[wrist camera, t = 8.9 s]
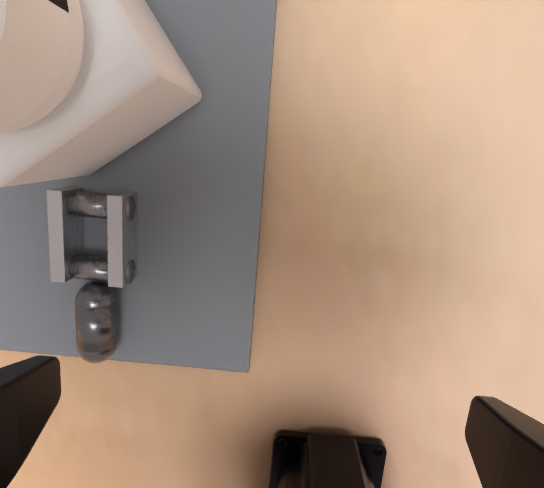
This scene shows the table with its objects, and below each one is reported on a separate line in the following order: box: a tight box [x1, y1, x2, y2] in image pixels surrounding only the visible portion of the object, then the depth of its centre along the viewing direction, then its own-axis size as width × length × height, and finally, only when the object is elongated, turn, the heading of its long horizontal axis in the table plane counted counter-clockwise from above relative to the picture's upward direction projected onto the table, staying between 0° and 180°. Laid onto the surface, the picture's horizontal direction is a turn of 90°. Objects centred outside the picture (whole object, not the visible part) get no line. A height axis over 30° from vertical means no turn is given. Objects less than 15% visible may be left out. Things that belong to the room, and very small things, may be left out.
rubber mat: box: [0, 0, 277, 372], centre depth 20 cm, size 30×16×1 cm, turn 175°
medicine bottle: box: [0, 0, 202, 187], centre depth 13 cm, size 7×7×12 cm
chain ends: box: [46, 186, 138, 363], centre depth 18 cm, size 29×4×2 cm, turn 175°
